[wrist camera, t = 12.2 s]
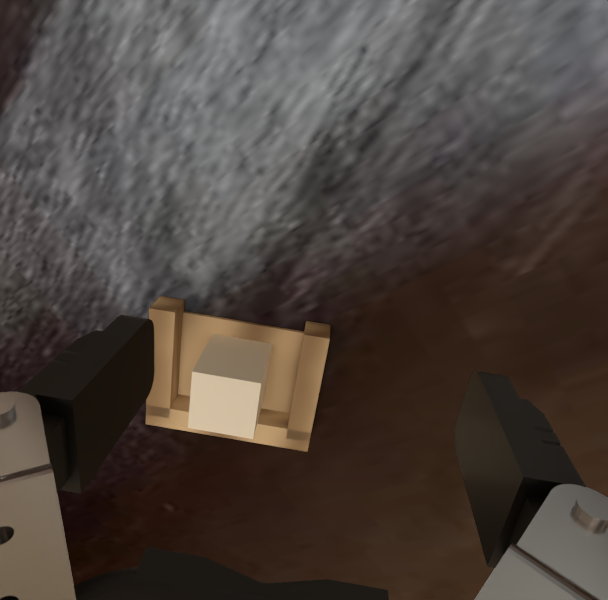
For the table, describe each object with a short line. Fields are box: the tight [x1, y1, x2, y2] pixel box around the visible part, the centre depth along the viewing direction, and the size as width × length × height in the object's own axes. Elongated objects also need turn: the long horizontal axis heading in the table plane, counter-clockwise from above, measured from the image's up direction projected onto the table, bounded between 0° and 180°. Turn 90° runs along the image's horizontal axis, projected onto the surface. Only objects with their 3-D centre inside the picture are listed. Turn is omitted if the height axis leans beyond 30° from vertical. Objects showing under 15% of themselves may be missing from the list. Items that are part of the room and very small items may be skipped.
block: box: [188, 334, 272, 439], centre depth 38 cm, size 5×5×6 cm
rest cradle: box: [146, 296, 330, 452], centre depth 40 cm, size 14×11×2 cm
